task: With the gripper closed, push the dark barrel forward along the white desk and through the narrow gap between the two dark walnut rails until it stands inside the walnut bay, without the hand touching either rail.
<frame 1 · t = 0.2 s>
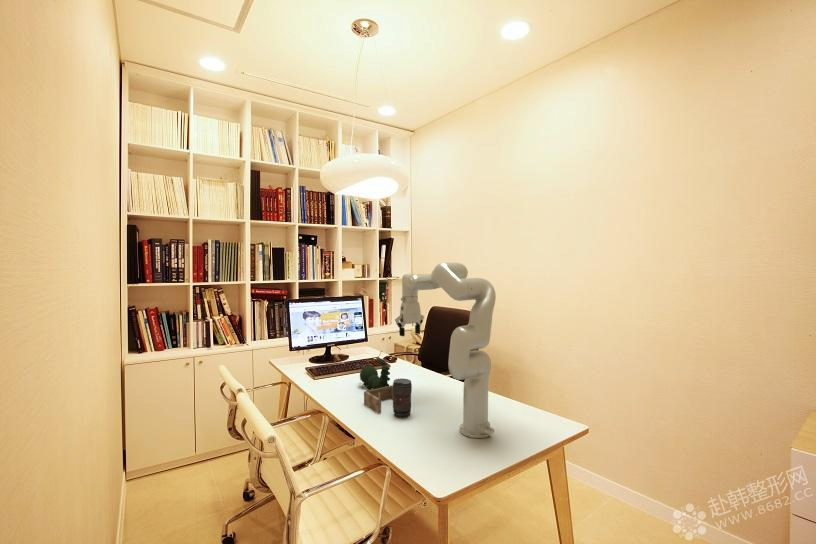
hand: (409, 334, 181), 31 cm above the table, fingers open, 9 cm apart
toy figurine: (373, 390, 193), on the table
dark barrel: (402, 415, 161), on the table
walnut bay: (386, 405, 172), on the table
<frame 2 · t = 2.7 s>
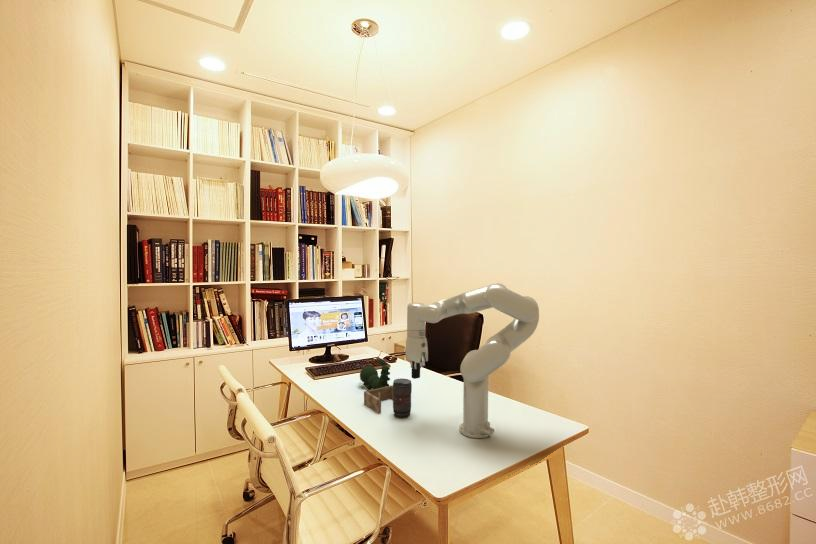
hand: (415, 377, 153), 19 cm above the table, fingers closed
nothing on the table moved.
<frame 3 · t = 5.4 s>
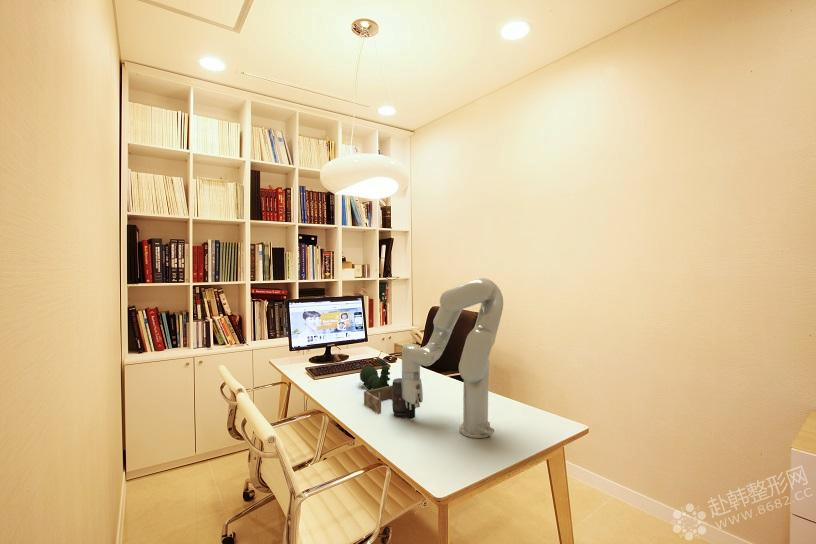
hand: (410, 417, 156), 1 cm above the table, fingers closed
dark barrel: (401, 415, 162), on the table, touching gripper
everything else where it was.
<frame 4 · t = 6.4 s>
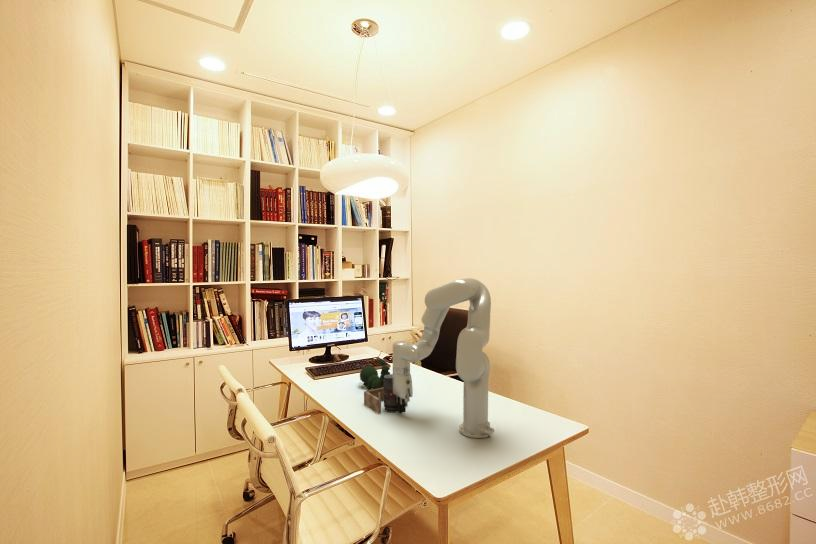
hand: (401, 412, 161), 1 cm above the table, fingers closed
dark barrel: (392, 410, 167), on the table, touching gripper
everything else where it was.
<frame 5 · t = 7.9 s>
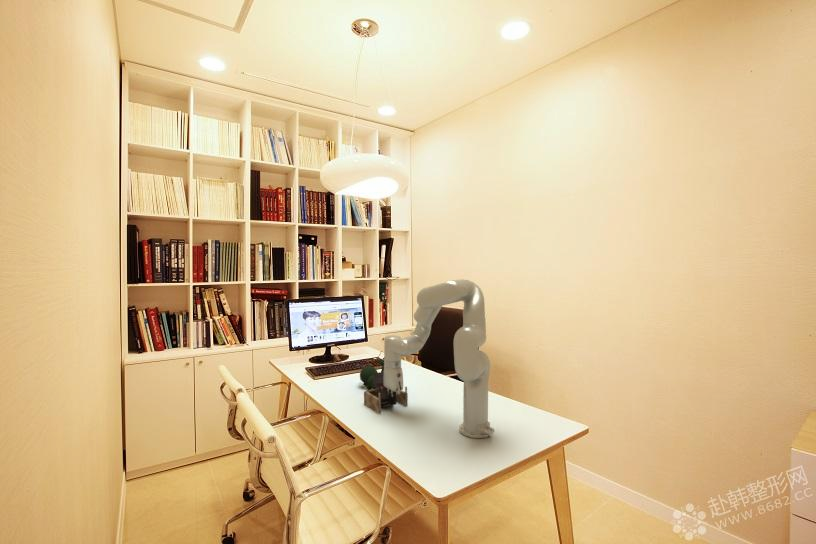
hand: (392, 404, 166), 3 cm above the table, fingers closed
dark barrel: (387, 405, 170), point 1 cm above the table, touching gripper
everything else where it was.
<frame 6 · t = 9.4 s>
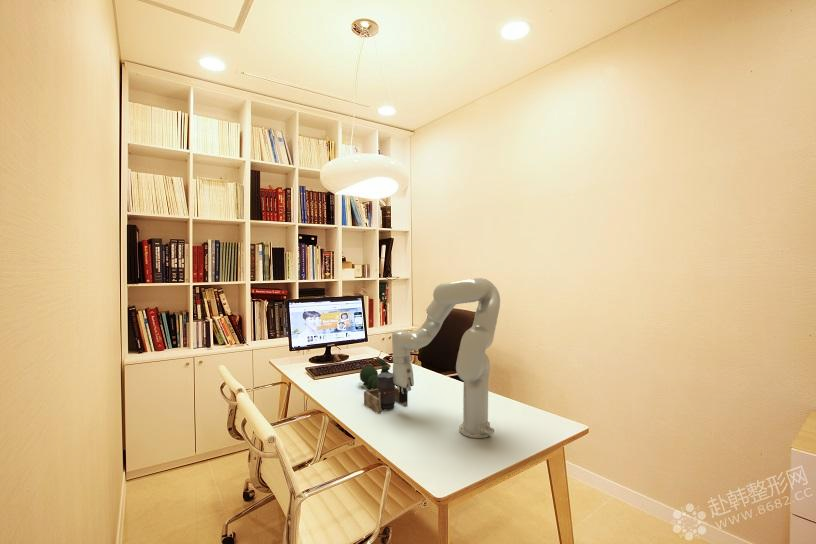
hand: (403, 401, 161), 6 cm above the table, fingers closed
dark barrel: (387, 407, 170), on the table
everything else where it was.
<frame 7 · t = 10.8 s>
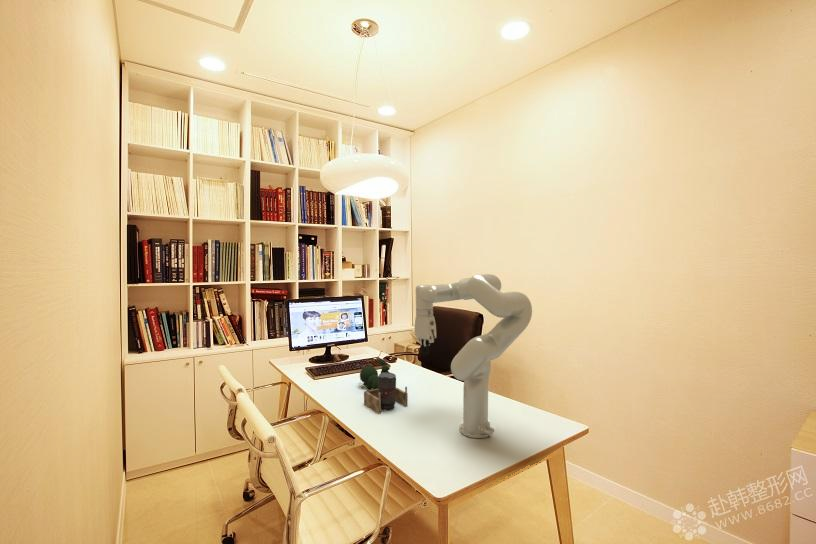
hand: (425, 354, 164), 26 cm above the table, fingers closed
nothing on the table moved.
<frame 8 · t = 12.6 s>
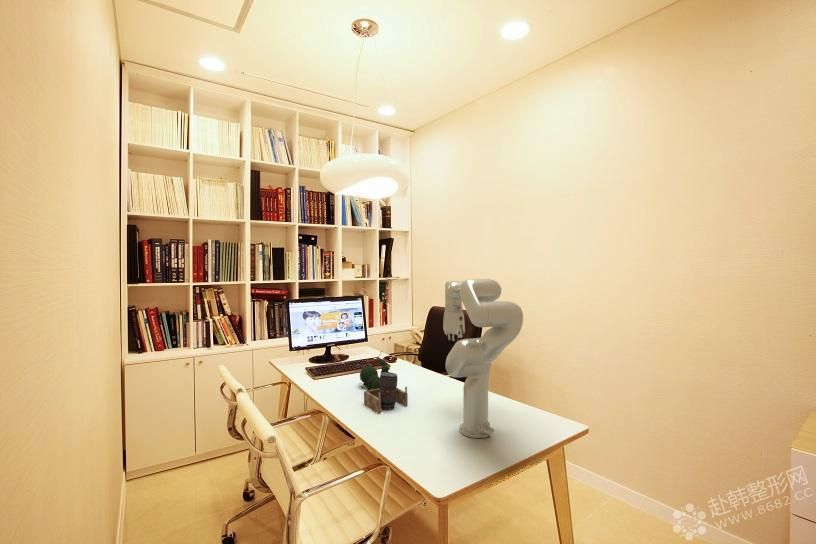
hand: (453, 348, 168), 27 cm above the table, fingers closed
at the end: dark barrel inside the target area (2.2 cm from its centre), on the table; dark barrel tilted 4°; dark barrel moved 11.0 cm from its start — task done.
